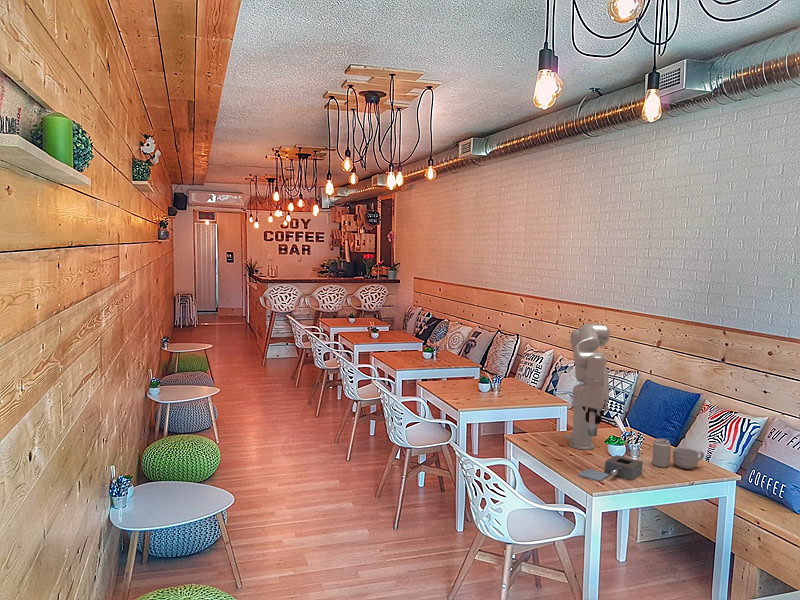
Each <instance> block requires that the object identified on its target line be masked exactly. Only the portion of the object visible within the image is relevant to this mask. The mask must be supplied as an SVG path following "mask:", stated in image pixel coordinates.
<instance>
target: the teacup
mask: <svg viewBox="0 0 800 600" xmlns="http://www.w3.org/2000/svg"><path fill="white" fill-rule="evenodd" d="M699 454H701V455H700V457H699ZM704 457H705V453H704V452H703V451H701V450H696V449H693V448H689V447H688V448H686V447H676V448H675V447H674V448H673V449H672V458H673V459H672V461H673V463H674V465H676V466H677V467H678V468H680V469H685V470H692V469H694V468H696V467H697V466H698V463H699V462H700V461H702V460H703V459H704Z"/></svg>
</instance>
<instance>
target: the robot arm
mask: <svg viewBox="0 0 800 600" xmlns="http://www.w3.org/2000/svg"><path fill="white" fill-rule="evenodd" d="M569 337H570V345H571V348H572V350H573V354H572V355H573V363H574V367H575V368H574V369H575V371H574V373H575V375H574V376H575V379H576V382H579V384H576V385H574V386H573V388H572V400H573V401H572V402H573V403H572V404H573V410H572V411H573V414H572V415H573V416H572V417H573V418H572V433H571V434H572V435H570V434H565V435H564V436H565V437H564V438H565V440H569V441H568V445H570V446H569V447H571V448H574V449H577V450H585V451H588V450H593V449H595V447H596V446H595V443H593V436H589V435H588V419H589V408H594V409H597V415H596V424H598V425H599V424H601V422H602V415H603V414H605V413H606V412H608V411H610V408H609V406H608V403H609V399H610V386H609V385H610V384H609V371H608V369H607V367H606V366H607V356H606V355H605V354H604V353H603V352H597V350H598V349H599V348H600V347H604V346H605V345H606V344H607V343H608V341H609V340H610V337H611V332H610V328H609V327H608V326H607V324H599V323H597V324H596V323H585V324H583V325H581V326H580V327H579V329H578V328H577V329H573V330H571V332H570V336H569ZM595 351H596V352H595ZM580 383H581V384H580Z"/></svg>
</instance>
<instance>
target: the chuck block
mask: <svg viewBox="0 0 800 600" xmlns="http://www.w3.org/2000/svg"><path fill="white" fill-rule="evenodd" d="M604 463H605V464H604V473H606V474H610V475H609V476H612V477H613V476H614V477H617V478H620V477H621V478H620V479H625V480H627V481H628V480H629V481H633V480H635V479H636V478H638V477H640V476H641V475H642V474H643V461H642V460H637V459H634V458H629V457H625V456H621V455H617V454H615V455H614V456H612V457H610V458H609V459H607V460H605V461H604ZM640 474H641V475H640ZM637 476H638V477H637ZM634 478H635V479H634Z"/></svg>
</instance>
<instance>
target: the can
mask: <svg viewBox="0 0 800 600" xmlns="http://www.w3.org/2000/svg"><path fill="white" fill-rule="evenodd" d="M671 448H672V445H671V443H670V441H669V440H668V439H666V438H654V441H653V443H652V456H651V457H652V458H651V459H652V460H651V463H652V464H653V466H655V465H656V466H655V467H657V466H659V467H658V468H663V467H665V468H668V467H669V466H670V463H671V462H670V461H671Z"/></svg>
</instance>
